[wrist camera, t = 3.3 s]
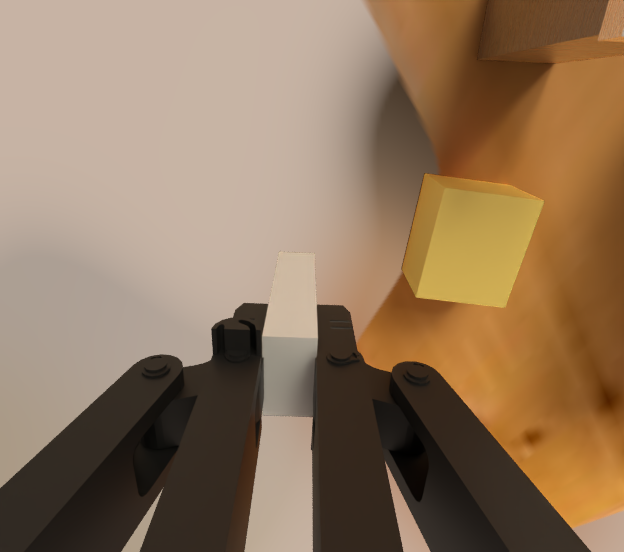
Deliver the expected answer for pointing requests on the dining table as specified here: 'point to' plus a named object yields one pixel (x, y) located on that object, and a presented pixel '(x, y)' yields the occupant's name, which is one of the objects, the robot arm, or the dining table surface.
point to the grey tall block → (552, 30)
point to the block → (468, 240)
